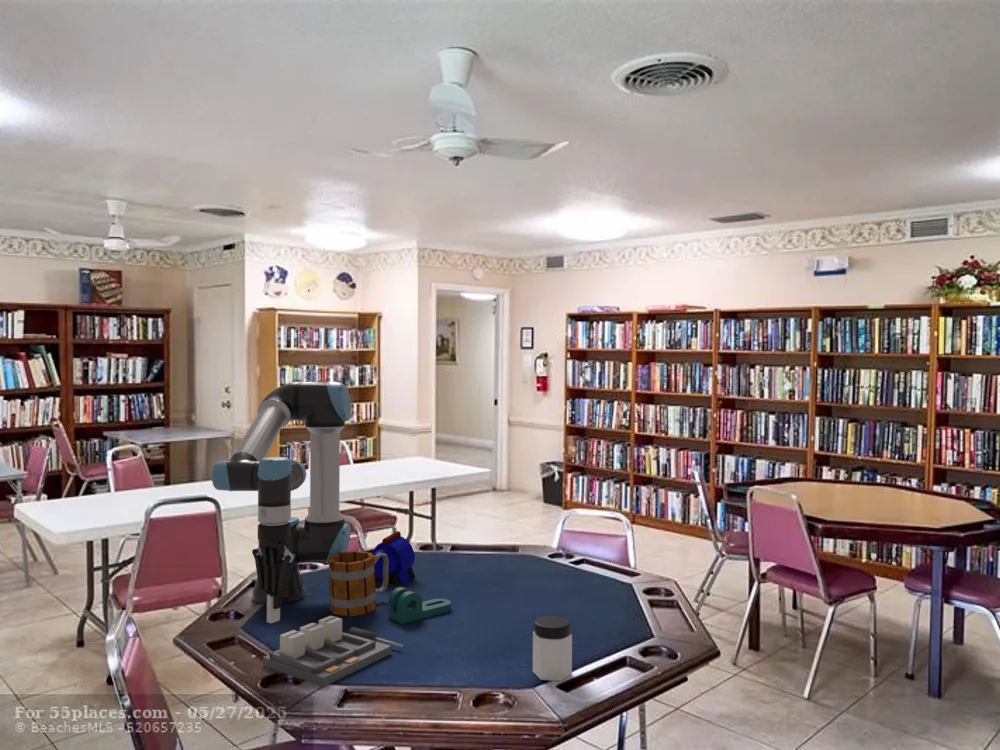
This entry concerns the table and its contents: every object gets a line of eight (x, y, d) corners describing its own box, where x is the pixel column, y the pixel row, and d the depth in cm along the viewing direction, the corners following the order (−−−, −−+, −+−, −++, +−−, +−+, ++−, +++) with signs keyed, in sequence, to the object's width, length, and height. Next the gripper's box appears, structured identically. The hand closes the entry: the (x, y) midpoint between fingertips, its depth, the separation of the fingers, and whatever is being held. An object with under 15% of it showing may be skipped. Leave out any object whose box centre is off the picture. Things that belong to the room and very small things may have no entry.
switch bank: (262, 665, 174) (262, 652, 174) (332, 636, 192) (332, 624, 192) (323, 686, 163) (323, 672, 163) (391, 653, 181) (391, 640, 181)
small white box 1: (279, 656, 173) (279, 634, 173) (293, 650, 177) (293, 629, 177) (291, 660, 171) (291, 638, 171) (305, 654, 174) (305, 632, 174)
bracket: (401, 624, 202) (401, 595, 202) (388, 617, 207) (388, 589, 207) (455, 610, 213) (455, 583, 213) (441, 604, 218) (442, 578, 218)
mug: (346, 621, 205) (344, 567, 204) (319, 610, 214) (317, 558, 213) (403, 602, 219) (401, 551, 218) (375, 592, 228) (373, 543, 228)
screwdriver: (348, 637, 191) (348, 628, 191) (355, 635, 193) (355, 625, 193) (399, 652, 182) (399, 642, 182) (405, 649, 184) (405, 639, 184)
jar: (549, 662, 176) (549, 612, 176) (577, 672, 171) (578, 620, 171) (525, 675, 169) (526, 622, 169) (554, 685, 164) (555, 631, 164)
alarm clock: (416, 577, 245) (417, 532, 245) (392, 586, 235) (392, 539, 235) (388, 571, 252) (388, 527, 252) (363, 580, 241) (363, 534, 241)
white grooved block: (299, 648, 178) (299, 626, 178) (312, 642, 182) (312, 622, 182) (311, 651, 176) (311, 630, 176) (324, 646, 179) (324, 625, 179)
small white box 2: (318, 640, 183) (318, 619, 183) (330, 635, 187) (330, 615, 187) (330, 643, 181) (330, 622, 181) (342, 638, 184) (342, 618, 184)
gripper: (243, 522, 178) (242, 620, 178) (280, 528, 171) (280, 630, 171) (268, 517, 185) (267, 612, 185) (305, 522, 178) (304, 621, 178)
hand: (273, 621), depth 178 cm, fingers closed
